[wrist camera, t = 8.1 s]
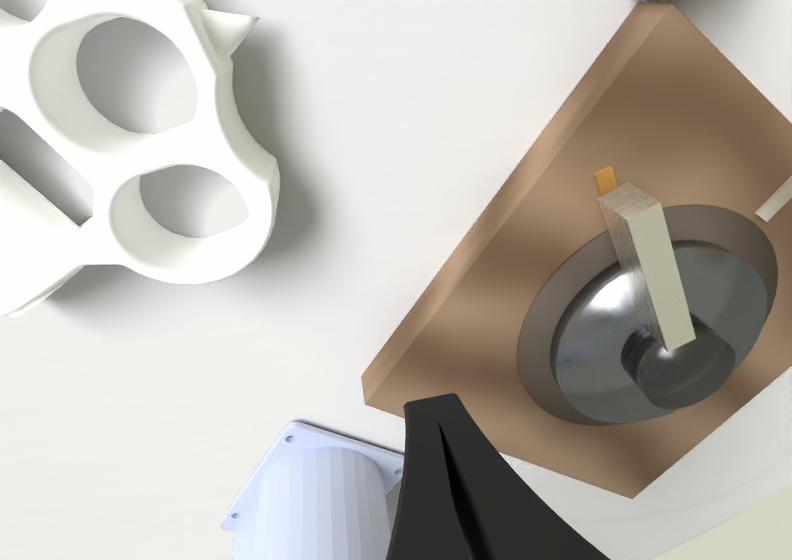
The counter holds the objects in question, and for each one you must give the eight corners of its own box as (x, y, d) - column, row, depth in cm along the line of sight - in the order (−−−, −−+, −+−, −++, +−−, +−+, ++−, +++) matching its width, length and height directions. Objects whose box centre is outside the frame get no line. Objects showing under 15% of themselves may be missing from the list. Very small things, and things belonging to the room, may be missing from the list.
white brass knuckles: (-450, -74, 13) (-95, -501, 11) (100, 337, 22) (363, 156, 20) (-658, -91, 10) (-240, -676, 8) (69, 388, 19) (371, 185, 17)
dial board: (615, 472, 33) (633, 501, 31) (361, 376, 25) (365, 407, 23) (882, 238, 26) (927, 257, 24) (638, 2, 18) (676, 4, 16)
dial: (760, 351, 25) (810, 392, 23) (583, 435, 27) (612, 482, 24) (722, 112, 18) (789, 132, 16) (484, 244, 20) (509, 283, 17)
